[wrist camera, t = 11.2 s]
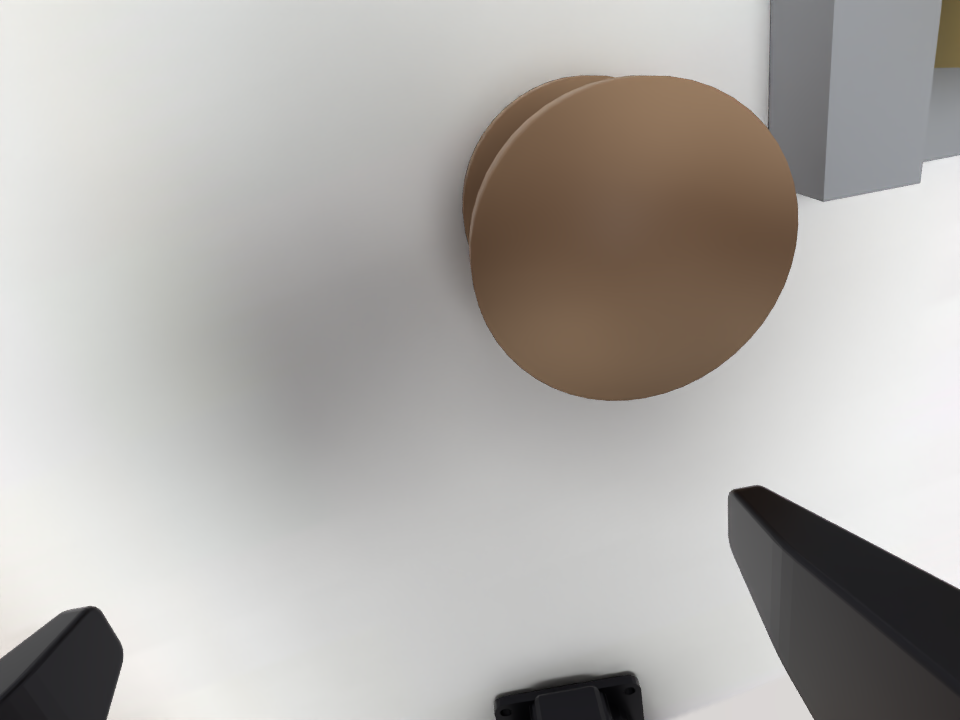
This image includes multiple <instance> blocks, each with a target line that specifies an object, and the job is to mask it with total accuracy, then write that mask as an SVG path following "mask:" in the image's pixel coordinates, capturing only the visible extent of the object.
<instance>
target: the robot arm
mask: <svg viewBox="0 0 960 720" xmlns="http://www.w3.org/2000/svg"><path fill="white" fill-rule="evenodd" d="M728 537H729V543H730V547H731V550H732V553H733V555H734V558H735V560H736V562H737V564H738V567H739V569H740V571H741V574H742V576H743V578H744V580H745V583H746V585H747V587H748V589H749V592H750V594H751V596H752V598H753V601H754V603H755V605H756V608H757V610H758V612H759V614H760V617H761V619H762V621H763V623H764V626H765V628H766V630H767V633H768V635H769V637H770V639H771V641H772V644H773V646H774V648H775V650H776V652H777V654H778V656H779V658H780V660H781V662H782V664H783V666H784V667H785V669H786V671H787V673H788V675H789V677H790V678H791V680H792V682H793V683H794V685H795V687H796V689H797V690H798V692H799V694H800V696H801V697H802V699H803V701H804V703H805V704H806V706H807V708H808V710H809V711H810V713H811V715H812V717H813V718H814V720H960V589H958V588H956V587H954V586H953V585H951V584H949V583H947V582H945V581H943V580H941V579H939V578H937V577H935V576H933V575H932V574H930V573H928V572H926V571H924V570H922V569H920V568H918V567H916V566H914V565H912V564H910V563H909V562H907V561H905V560H903V559H901V558H899V557H897V556H895V555H893V554H891V553H889V552H888V551H886V550H884V549H882V548H880V547H878V546H876V545H874V544H872V543H870V542H868V541H866V540H865V539H863V538H861V537H859V536H857V535H855V534H853V533H851V532H849V531H847V530H845V529H844V528H842V527H840V526H838V525H836V524H834V523H832V522H830V521H828V520H826V519H824V518H822V517H821V516H819V515H817V514H815V513H813V512H811V511H809V510H807V509H805V508H803V507H801V506H800V505H798V504H796V503H794V502H792V501H790V500H788V499H786V498H784V497H782V496H780V495H778V494H777V493H775V492H773V491H771V490H769V489H767V488H765V487H763V486H759V485H754V486H749V487H743V488H738V489H733V490H732V491H731V492H730V493H729V496H728ZM122 663H123V648H122V645H121V643H120V641H119V639H118V638H117V636H116V634H115V633H114V631H113V629H112V628H111V626H110V624H109V623H108V621H107V619H106V618H105V616H104V614H103V613H102V612H101V610H100V609H98V608H96V607H94V606H87V607H81V608H76V609H70V610H67V611H64V612H62V613H60V614H59V615H57V616H56V617H55V618H53V619H52V620H51V621H49V622H48V623H47V624H45V625H44V626H43V627H42V628H40V629H39V630H38V631H36V632H35V633H34V634H32V635H31V636H30V637H28V638H27V639H26V640H24V641H23V642H22V643H21V644H19V645H18V646H17V647H15V648H14V649H13V650H11V651H10V652H9V653H7V654H6V655H5V656H3V657H2V658H1V659H0V720H107V716H108V713H109V709H110V706H111V702H112V699H113V695H114V692H115V688H116V684H117V681H118V677H119V674H120V670H121V667H122ZM494 712H495V717H496V720H644V714H643V704H642V695H641V688H640V685H639V682H638V679H637V678H636V677H635V676H632V675H625V676H619V677H614V678H608V679H602V680H596V681H591V682H585V683H579V684H573V685H568V686H562V687H556V688H551V689H545V690H539V691H533V692H528V693H522V694H516V695H510V696H505V697H501V698H499V699H497V700H496V701H495V703H494Z"/></svg>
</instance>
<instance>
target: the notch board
mask: <svg viewBox="0 0 960 720" xmlns="http://www.w3.org/2000/svg"><path fill="white" fill-rule="evenodd" d="M941 6H942V0H771V35H770V91H769V131H770V133H771V134H772V135H773V137H774V138H775V140H776V141H777V143H778V144H779V146H780V148H781V150H782V152H783V154H784V156H785V158H786V160H787V162H788V165H789V168H790V172H791V175H792V178H793V181H794V185H795V191H796V193H799V194H802V195H805V196H808V197H811V198H814V199H817V200H820V201H823V202H825V201H830V200H835V199H840V198H846V197H851V196H856V195H861V194H866V193H872V192H877V191H882V190H887V189H892V188H898V187H903V186H908V185H913V184H918V183H920V181H921V172H922V164H923V162H926V161H931V160H937V159H942V158H947V157H952V156H957V155H960V68H934V64H935V56H936V48H937V39H938V31H939V23H940V15H941Z"/></svg>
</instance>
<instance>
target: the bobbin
mask: <svg viewBox="0 0 960 720" xmlns="http://www.w3.org/2000/svg"><path fill="white" fill-rule="evenodd" d="M462 210H463V218H464V226H465V233H466V237H467V241H468V244H469V257H470V265H471V273H472V280H473V287H474V291H475V294H476V298H477V302H478V306H479V308H480V311H481V313H482V315H483V318H484V320H485V322H486V325H487V326H488V328H489V330H490V331H491V333H492V335H493V337H494V338H495V340H496V341H497V343H498V344H499V345H500V346H501V348H502V349H503V350H504V351H505V353H506V354H507V355H508V356H509V357H510V358H511V359H512V360H513V361H514V362H515V363H516V364H517V365H518V366H519V367H521V368H522V369H523V370H524V371H526V372H527V373H529V374H530V375H531V376H533V377H534V378H536V379H537V380H539V381H541V382H543V383H545V384H547V385H548V386H550V387H552V388H555V389H557V390H560V391H563V392H565V393H568V394H571V395H575V396H580V397H584V398H588V399H597V400H606V401H617V400H633V399H641V398H647V397H651V396H656V395H660V394H664V393H667V392H670V391H672V390H675V389H678V388H681V387H683V386H685V385H687V384H689V383H691V382H693V381H695V380H698V379H700V378H702V377H703V376H705V375H706V374H708V373H709V372H711V371H713V370H714V369H716V368H717V367H719V366H720V365H721V364H723V363H724V362H725V361H726V360H728V359H729V358H730V357H731V356H733V355H734V354H735V353H736V352H737V351H738V350H739V349H740V348H741V347H742V346H743V345H744V344H745V343H746V342H747V341H748V340H749V339H750V338H751V337H752V336H753V335H754V333H755V332H756V331H757V330H758V328H759V327H760V326H761V325H762V324H763V322H764V321H765V319H766V318H767V316H768V315H769V313H770V311H771V310H772V308H773V307H774V305H775V303H776V301H777V299H778V297H779V295H780V293H781V291H782V289H783V287H784V285H785V282H786V279H787V277H788V274H789V271H790V268H791V265H792V261H793V257H794V252H795V248H796V241H797V231H798V203H797V197H796V191H795V185H794V181H793V178H792V175H791V172H790V168H789V165H788V162H787V160H786V158H785V156H784V154H783V152H782V150H781V148H780V146H779V144H778V143H777V141H776V140H775V138H774V137H773V135H772V134H771V133H770V131H769V130H768V128H767V127H766V126H765V125H764V124H763V123H762V122H761V121H760V119H759V118H758V117H757V116H756V115H755V114H754V113H753V112H752V111H751V110H749V109H748V108H747V107H745V106H744V105H743V104H741V103H740V102H739V101H737V100H736V99H735V98H733V97H731V96H729V95H727V94H726V93H724V92H722V91H720V90H718V89H716V88H714V87H711V86H708V85H705V84H702V83H699V82H696V81H693V80H689V79H683V78H677V77H671V76H624V77H616V78H615V77H609V76H573V77H565V78H561V79H557V80H554V81H550V82H547V83H545V84H542V85H540V86H538V87H535V88H533V89H531V90H530V91H528V92H526V93H525V94H523V95H521V96H520V97H518V98H517V99H516V100H514V101H513V102H512V103H511V104H509V105H508V106H507V107H506V108H504V110H503V111H502V112H501V113H500V114H499V115H498V116H497V117H496V118H495V119H494V120H493V121H492V122H491V124H490V125H489V126H488V128H487V129H486V131H485V132H484V133H483V135H482V137H481V138H480V140H479V142H478V144H477V145H476V147H475V149H474V152H473V154H472V157H471V159H470V162H469V165H468V168H467V172H466V176H465V180H464V188H463V207H462Z"/></svg>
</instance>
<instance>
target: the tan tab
mask: <svg viewBox="0 0 960 720" xmlns="http://www.w3.org/2000/svg"><path fill="white" fill-rule="evenodd" d="M934 68H960V0H942V6H941V15H940V23H939V31H938V39H937V48H936V56H935V64H934Z"/></svg>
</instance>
